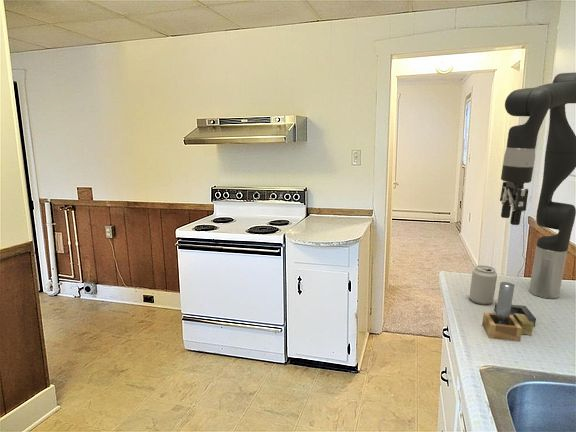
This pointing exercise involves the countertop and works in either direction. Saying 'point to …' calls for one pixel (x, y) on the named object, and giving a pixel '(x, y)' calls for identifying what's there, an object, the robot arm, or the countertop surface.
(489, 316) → the brown square frame
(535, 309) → the countertop surface
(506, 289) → the grey capsule rod
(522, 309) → the socket block
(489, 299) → the can
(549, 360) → the countertop surface
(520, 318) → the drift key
